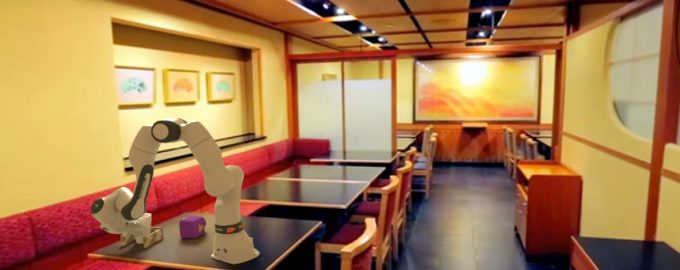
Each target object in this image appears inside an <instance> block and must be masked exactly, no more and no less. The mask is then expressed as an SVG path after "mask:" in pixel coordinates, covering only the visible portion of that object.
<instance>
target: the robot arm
mask: <svg viewBox="0 0 680 270" xmlns="http://www.w3.org/2000/svg"><path fill="white" fill-rule="evenodd" d="M178 142H184V143H185V144H186V146H187V147H188V149H189V150H190V152H191V153H192V155H193V156H194V159H195V160H196V161H197V163H198V164H199V167H200V169H201V172H202V175H203V178H204V182H203V186H204V191H206V193H207V194H208V195H209V196H211V197H216V201H215V204H214V219H215V222H214V231H215V235H214V237H213V240H212V241H213V244H212V246H213V248H212V250H213V251H212V252H213V253H212V254H211V255H210V258H211V259H213V258H214V260H217V261H220V260H221V262H224V263H227V264H232V265H237V264H241V263H242V264H243V263H246V262H248V261H251V260H253V259H255V258H258V257H259V256H260V251H259V250H258V249H256V248H255V246H254V240H253V239H254V238H253V237H250V236H249V234H248V233H247V232H246V231H245V229H244V227H245V225H244V223H243V221H242V217H241V205H240V204H241V196H242V195H241V194H242V186H243V181H244V177H245V173H244V170H243V168H241V166H238V165H235V164H234V165H233V164H228V165H226V166H225V163H224V160H223V159H224V158H223V152H222V150H221V148H220V146H219V145H218V143H217V142H216V140H215V139H214V138H213V135H211V133H210V131H208V129H207V128H206V127H205V126H204V125H203V124H202V123H201V122H200V121H198V120H191V121H189V122H188V121H186V120H185V119H183V118H173V117H167V118H160V119H158V120H156V121H155V122H154V123H153V124H144V125H142V126H141V127H140V129H139V130H138V132H137V134H136V135H135V137H134V139H133V141H132V143H131V146H130V148H129V152H128V161H129V163H130V165H131V167H132V169H133V171H134V173H135V178H136V179H135V180H136V181H135V185H134V187H133V191H132V190H131V189H130V188H129V187H126V186H122V187H118V188H117V189H115V190H114V191H112V192H111V193H110V194H108V195H107V196H104V197H99V198H97V199H95V200H94V201H93V202H92V204H91V207H90V214H91V216H93V218H94V219H96V221H98V222H99V223H100V226H99V228H100V229H101V230H104V231H105V232H107V233H108V234H112V235H113V234H115V235H116V234H117V235H124V234H127V235H130V236H131V237H137V236H138V235H145V234H146V233H147V230H148V228H147V227H146V226H144V225H143V224H141V223H139V222H131V221H132V220H136V219H139V218H140V217H141V216H142V215H143V214H144V213H146V210H147V201H148V200H147V199H148V196H149V193H150V188H151V186H152V182H153V177H154V172H155V171H154V170H155V169H154V167H155V160H156V157H157V154H158V152H159V150H160V148H161V145H162V144H169V143H170V144H172V143H173V144H174V143H178Z"/></svg>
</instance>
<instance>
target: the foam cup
mask: <svg viewBox="0 0 680 270" xmlns="http://www.w3.org/2000/svg"><path fill="white" fill-rule="evenodd" d="M130 222H139V223H141V224H143V225H144V226H146V227H147V228H148V230H147V233H146V234H145V235H138V236H137V237H135V239H136V240H135V242H136V244H141V245H142V244H144V243H143V237H145V236H147V235H149V234H150V232H151V227H152V213H149V212H148V213H147V212H145V213H144V214H143V215H142V216H141V217H140V218H139V219H136V220H132V221H130Z"/></svg>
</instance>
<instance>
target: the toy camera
mask: <svg viewBox="0 0 680 270" xmlns="http://www.w3.org/2000/svg"><path fill="white" fill-rule="evenodd" d="M206 225H207V221H206V219H205V218H204V217H203V216H199V215H198V216H197V215H188V216H186V217H183V218H182V219H180V221H179V222H178V227H179V236H180V238H181V239H194V240H195V239H197V238H199V237H200V236H202V235H203V234H205V233H206Z"/></svg>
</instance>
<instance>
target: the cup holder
mask: <svg viewBox="0 0 680 270" xmlns="http://www.w3.org/2000/svg"><path fill="white" fill-rule="evenodd" d="M163 228H164V227H161V226H151V232H150V234H149V235H147V236H145V237H143V243H142V244H143V248H144V249H146V248H148V247H150V246H152V245H153V244H156V243H157V242H159V241H161V240H162V239H164V230H163ZM119 237H120V246H121V247H124V246H126V245H129V244H131V243H132V242H134V241H136V239H135V237H131V236H130V235H127V234H121V235H120V236H119Z"/></svg>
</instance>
